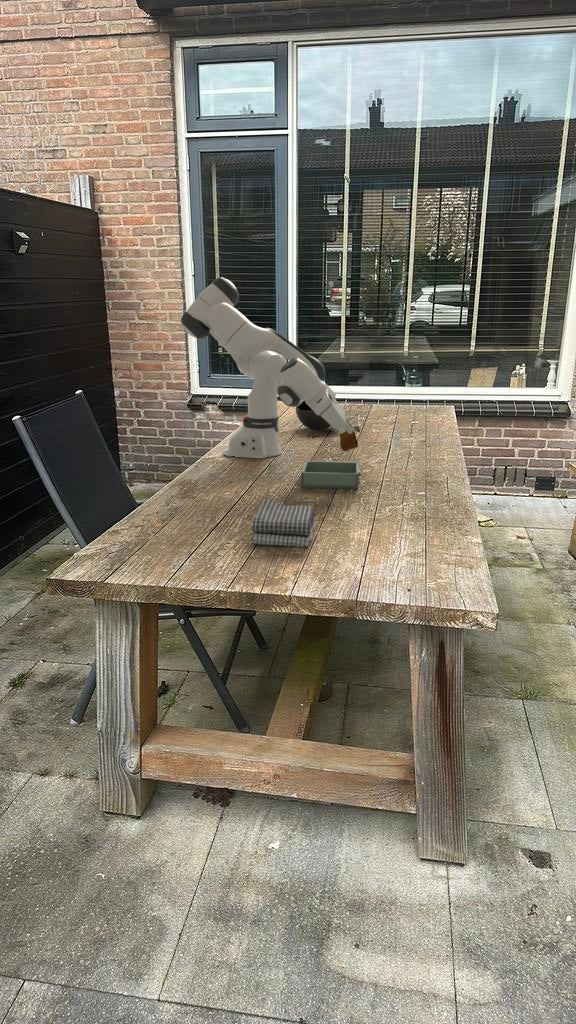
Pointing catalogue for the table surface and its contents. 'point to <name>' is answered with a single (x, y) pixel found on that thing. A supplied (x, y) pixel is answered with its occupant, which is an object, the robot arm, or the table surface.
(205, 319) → the robot arm
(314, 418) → the bowl of black rocks
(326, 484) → the bin
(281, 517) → the towel
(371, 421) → the table surface
